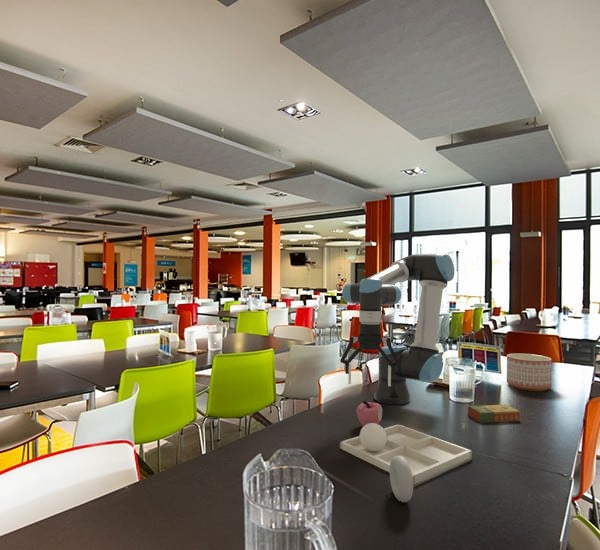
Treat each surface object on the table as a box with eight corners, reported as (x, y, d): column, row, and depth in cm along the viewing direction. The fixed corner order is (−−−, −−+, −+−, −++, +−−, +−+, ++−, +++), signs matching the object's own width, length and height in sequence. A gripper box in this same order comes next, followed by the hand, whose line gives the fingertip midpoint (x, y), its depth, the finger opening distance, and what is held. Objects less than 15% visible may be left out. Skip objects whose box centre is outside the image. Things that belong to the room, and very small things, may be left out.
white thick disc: (387, 489, 103) (387, 448, 104) (401, 488, 104) (401, 448, 104) (400, 511, 94) (400, 466, 94) (415, 511, 94) (415, 466, 94)
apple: (375, 435, 139) (376, 405, 139) (351, 430, 143) (352, 401, 143) (386, 427, 147) (386, 398, 147) (363, 422, 151) (363, 394, 152)
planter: (551, 386, 208) (552, 356, 208) (550, 394, 191) (550, 362, 191) (508, 380, 218) (509, 352, 218) (504, 388, 202) (504, 357, 202)
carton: (520, 422, 155) (520, 410, 155) (479, 423, 153) (480, 412, 153) (505, 414, 163) (506, 403, 163) (467, 416, 161) (467, 405, 161)
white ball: (354, 449, 126) (354, 422, 126) (372, 443, 131) (372, 417, 131) (373, 458, 120) (373, 430, 120) (392, 451, 125) (392, 424, 125)
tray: (339, 450, 127) (340, 441, 127) (398, 431, 143) (398, 424, 143) (412, 486, 105) (412, 476, 105) (471, 459, 121) (471, 450, 121)
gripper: (333, 322, 143) (332, 385, 143) (408, 325, 140) (407, 388, 140) (334, 320, 151) (334, 379, 151) (405, 323, 147) (405, 383, 147)
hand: (369, 384), depth 145 cm, fingers open, 13 cm apart
